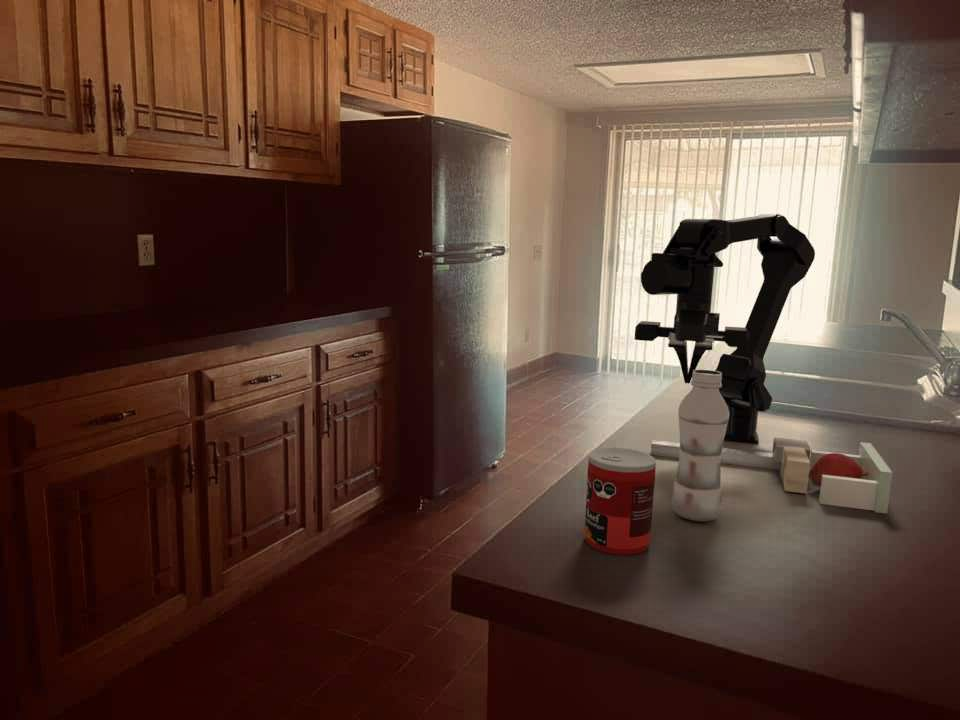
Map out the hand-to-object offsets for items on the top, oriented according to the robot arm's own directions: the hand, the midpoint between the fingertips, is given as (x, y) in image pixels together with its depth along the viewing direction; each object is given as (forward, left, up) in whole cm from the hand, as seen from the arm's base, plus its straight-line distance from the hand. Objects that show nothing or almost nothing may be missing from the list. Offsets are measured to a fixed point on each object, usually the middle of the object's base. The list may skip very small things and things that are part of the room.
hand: (687, 382), depth 127 cm
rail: (+4, +11, -12) cm, 17 cm away
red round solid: (+14, +19, -10) cm, 25 cm away
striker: (+10, +17, -12) cm, 23 cm away
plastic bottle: (+32, +3, -12) cm, 34 cm away
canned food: (+44, -6, -12) cm, 46 cm away
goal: (+13, +24, -12) cm, 29 cm away
